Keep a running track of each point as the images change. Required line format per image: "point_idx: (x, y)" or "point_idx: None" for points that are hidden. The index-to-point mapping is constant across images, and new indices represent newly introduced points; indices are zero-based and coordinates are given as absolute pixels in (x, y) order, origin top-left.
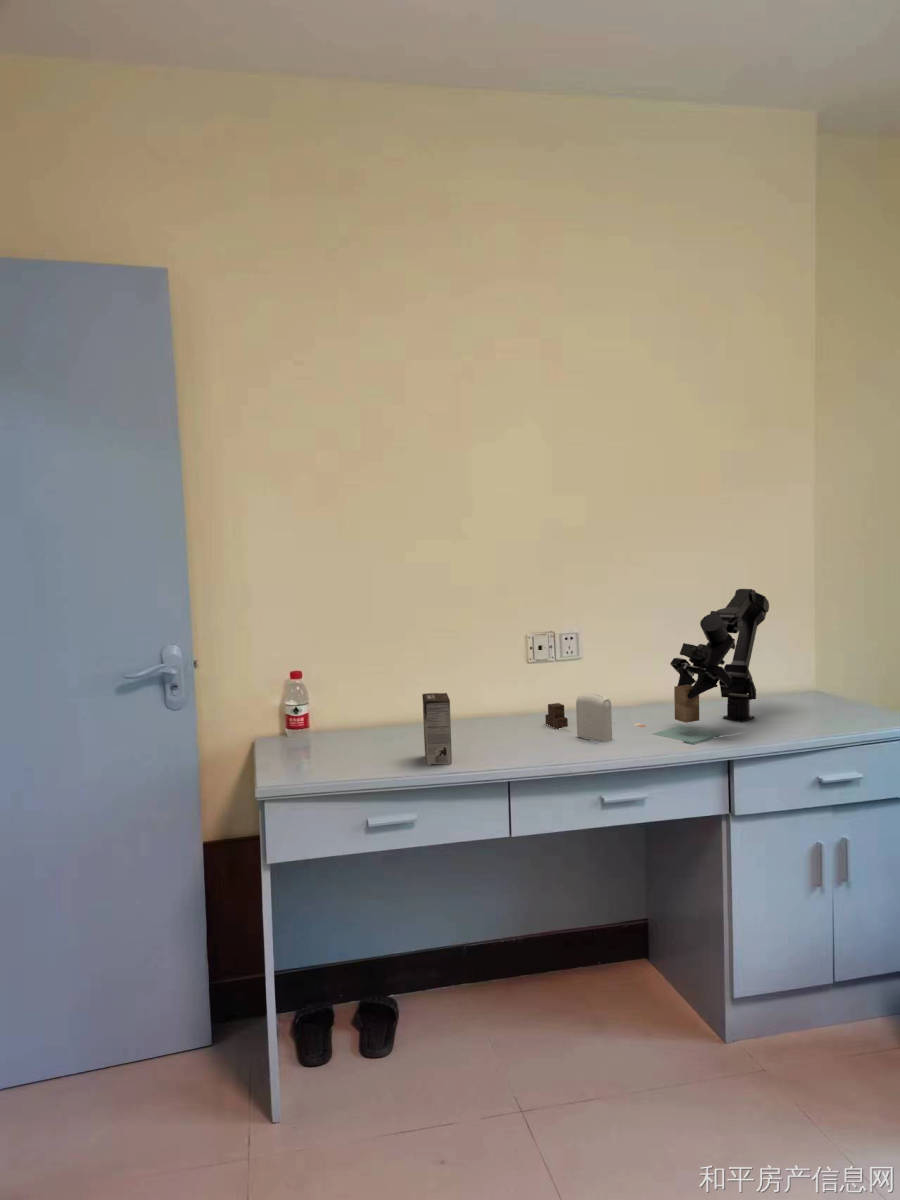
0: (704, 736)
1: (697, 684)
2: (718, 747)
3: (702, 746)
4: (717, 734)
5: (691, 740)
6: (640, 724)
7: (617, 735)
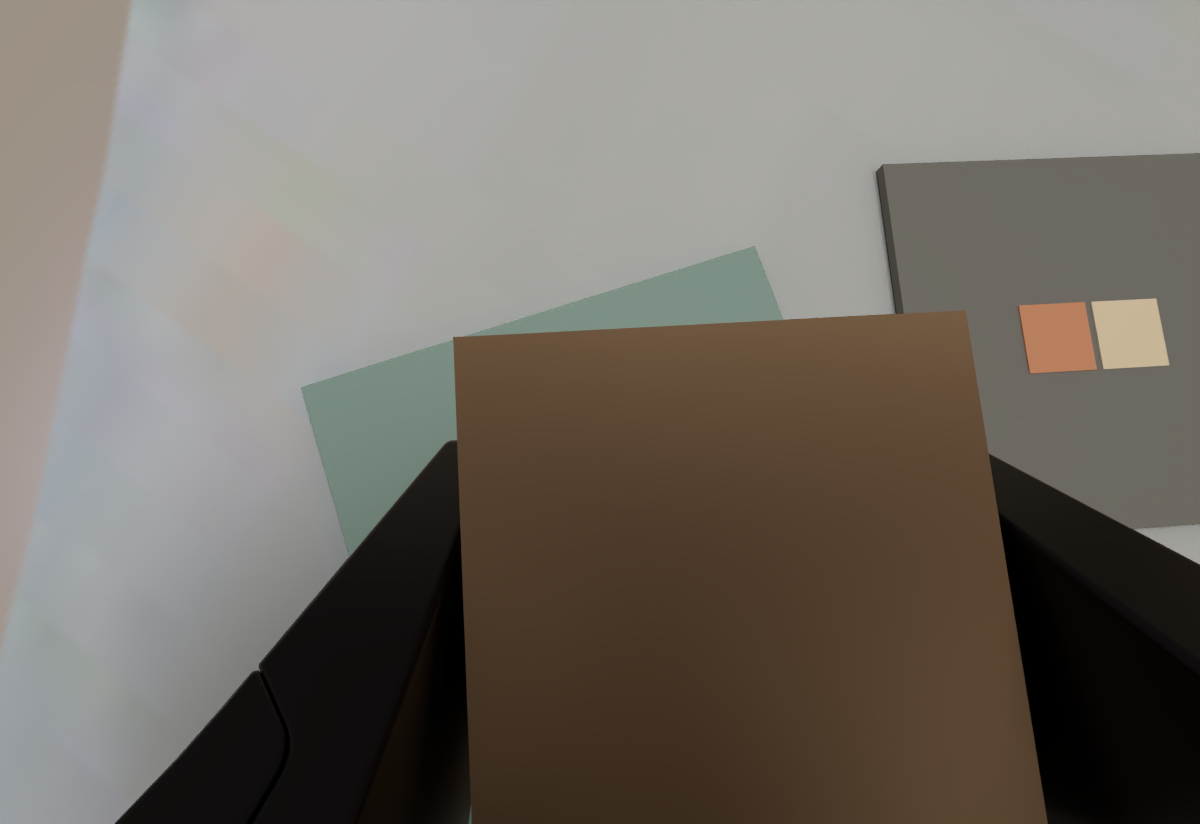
0: None
1: (188, 746)
2: (100, 540)
3: (210, 428)
4: None
5: (370, 419)
6: (1113, 354)
7: (876, 11)
